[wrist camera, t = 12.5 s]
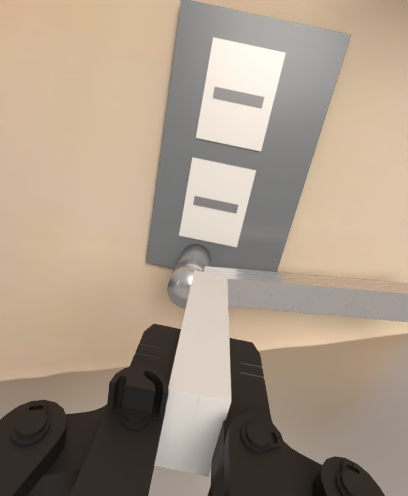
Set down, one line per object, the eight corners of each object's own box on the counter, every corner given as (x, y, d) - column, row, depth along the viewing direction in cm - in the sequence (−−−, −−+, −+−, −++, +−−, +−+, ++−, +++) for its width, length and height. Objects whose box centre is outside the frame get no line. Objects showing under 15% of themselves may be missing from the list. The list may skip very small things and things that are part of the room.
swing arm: (172, 292, 31) (167, 307, 28) (173, 257, 30) (168, 270, 27) (423, 313, 30) (444, 331, 28) (436, 279, 29) (459, 294, 26)
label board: (148, 259, 37) (134, 280, 31) (183, 4, 28) (172, -32, 22) (269, 283, 37) (278, 310, 32) (346, 39, 28) (378, 12, 22)
